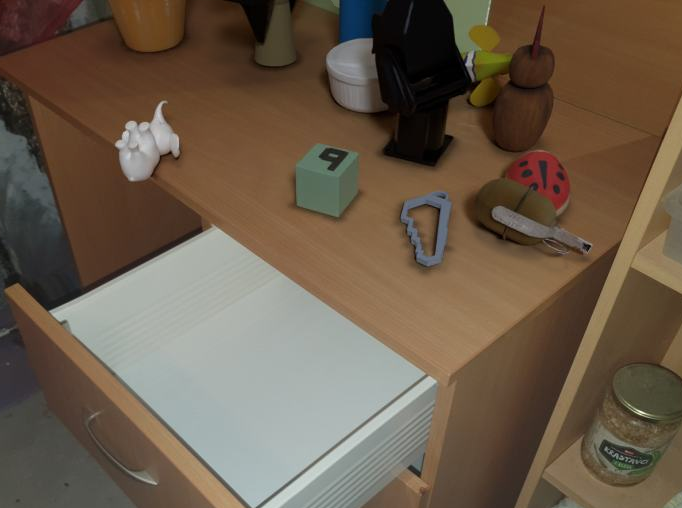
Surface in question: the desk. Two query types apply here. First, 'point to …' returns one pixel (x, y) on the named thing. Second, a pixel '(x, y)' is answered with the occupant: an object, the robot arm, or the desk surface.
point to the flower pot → (150, 23)
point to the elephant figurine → (146, 146)
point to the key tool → (442, 228)
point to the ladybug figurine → (542, 177)
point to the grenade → (522, 215)
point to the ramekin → (355, 76)
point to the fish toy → (485, 64)
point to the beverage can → (357, 18)
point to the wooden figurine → (525, 97)
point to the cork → (278, 38)
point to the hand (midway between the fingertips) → (272, 32)
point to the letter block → (327, 179)
